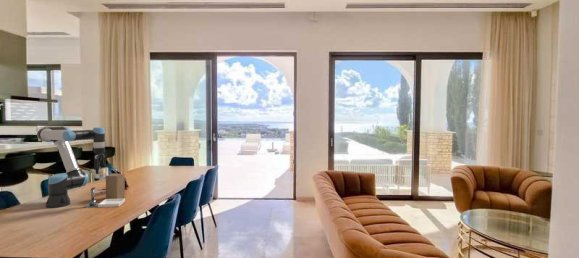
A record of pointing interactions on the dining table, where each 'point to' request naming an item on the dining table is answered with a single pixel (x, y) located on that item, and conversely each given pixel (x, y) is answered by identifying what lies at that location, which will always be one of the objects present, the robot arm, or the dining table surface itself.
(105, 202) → the tray
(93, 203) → the grey lever faucet
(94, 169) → the robot arm
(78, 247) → the dining table surface
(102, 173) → the collar
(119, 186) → the wooden block
